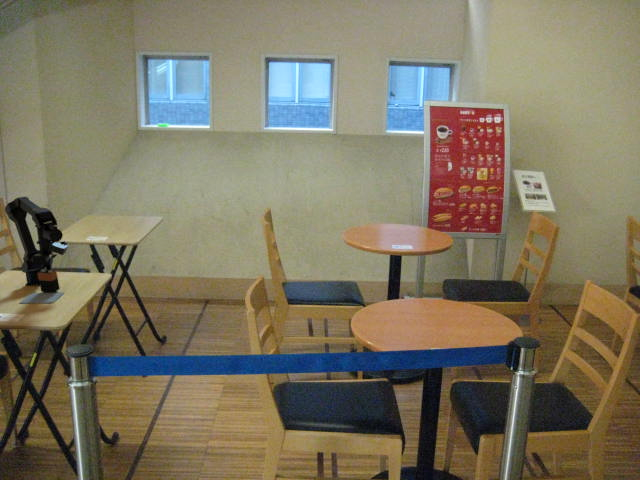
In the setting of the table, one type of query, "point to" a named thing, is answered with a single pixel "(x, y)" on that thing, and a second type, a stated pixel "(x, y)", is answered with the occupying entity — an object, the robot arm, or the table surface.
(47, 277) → the battery
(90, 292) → the table surface
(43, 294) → the mat
